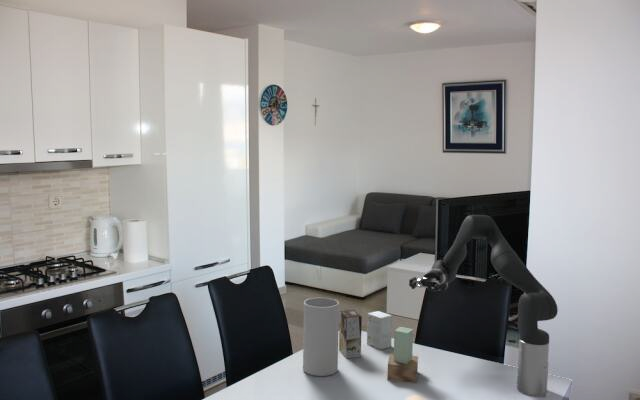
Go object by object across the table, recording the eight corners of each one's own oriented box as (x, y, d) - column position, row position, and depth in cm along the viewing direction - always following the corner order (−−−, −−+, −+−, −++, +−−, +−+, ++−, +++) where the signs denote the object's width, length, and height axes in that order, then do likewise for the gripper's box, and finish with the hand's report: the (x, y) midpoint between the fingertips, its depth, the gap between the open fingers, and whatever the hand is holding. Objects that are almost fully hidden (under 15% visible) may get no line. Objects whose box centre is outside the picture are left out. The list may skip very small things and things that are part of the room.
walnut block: (417, 372, 202) (418, 356, 201) (416, 383, 192) (417, 367, 192) (389, 369, 204) (390, 353, 203) (387, 380, 194) (387, 364, 194)
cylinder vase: (342, 367, 205) (344, 300, 203) (329, 379, 194) (330, 309, 191) (312, 361, 210) (313, 296, 208) (296, 373, 199) (297, 304, 197)
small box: (391, 346, 227) (392, 315, 226) (380, 349, 223) (381, 318, 222) (377, 340, 233) (378, 310, 232) (366, 344, 229) (367, 313, 228)
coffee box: (361, 356, 215) (362, 316, 214) (346, 358, 213) (346, 317, 212) (353, 348, 224) (354, 309, 222) (338, 350, 222) (338, 310, 220)
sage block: (412, 359, 198) (413, 329, 197) (406, 364, 194) (408, 333, 193) (398, 356, 201) (400, 326, 200) (393, 360, 197) (394, 330, 195)
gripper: (417, 268, 228) (405, 275, 213) (452, 271, 222) (442, 279, 207) (416, 286, 228) (405, 295, 214) (451, 290, 222) (442, 299, 208)
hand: (423, 287), depth 210 cm, fingers open, 8 cm apart
